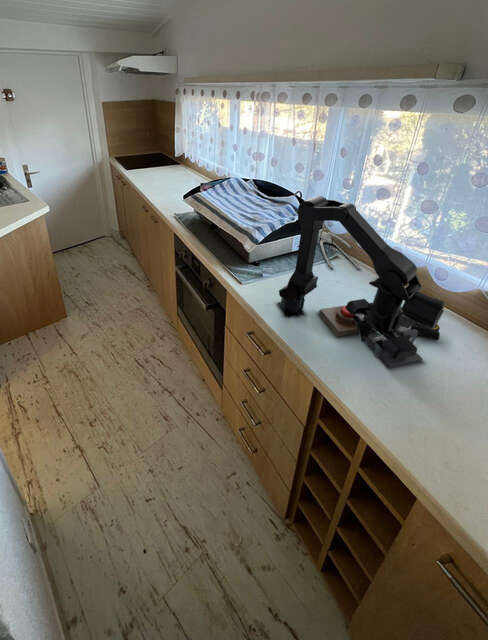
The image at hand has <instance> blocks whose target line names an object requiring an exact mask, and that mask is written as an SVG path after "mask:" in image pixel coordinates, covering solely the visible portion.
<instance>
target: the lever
mask: <svg viewBox="0 0 488 640" xmlns="http://www.w3.org/2000/svg"><path fill="white" fill-rule="evenodd" d="M408 330H410V328H406V327H400V328H399V329H397V330H394V331H392V332H393V333H395V334H398V335H400V333H401V331H408ZM362 338H363V339H364V340H365V343H366V342H367V343H368V344H369V345H368V344H367V343H366V344H367V345H368V346H369V347H370V349H371V350H372V351H373V352H374V351H375V341H379V340H383V338H384V336H383V335H379V336H377V337H374V339H373V338H371V337H370V336H368V335H367V334H364V335H363V336H362Z"/></svg>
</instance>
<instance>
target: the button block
mask: <svg viewBox="0 0 488 640" xmlns="http://www.w3.org/2000/svg"><path fill="white" fill-rule="evenodd" d="M343 306H344V305H339V306H332V307H325V308H320V309H319V314H318V315H319V316H320V317H321V318H322V320H323V322H325V324H326V325H327V326H328V328H330V330H331V331H332V332H333V333H334V335H335V336H336V337H345V336H350V335H356V334H359V332H358V329H357V326H356V324H355V321H354V319H353V317H352V318H350V317H346V316H344V315H343V314H342V313H341V311H342V308H343ZM345 306H347V304H345ZM355 315H356V314H354V316H355ZM370 332H374V329H373V328H371V330H370Z"/></svg>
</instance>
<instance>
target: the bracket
mask: <svg viewBox="0 0 488 640" xmlns="http://www.w3.org/2000/svg"><path fill="white" fill-rule="evenodd" d="M391 331H394V329H391ZM399 336H405V337H406V338H407V339H408V340H409V341H410V342H411V343H412V344H414V343H415V341H416V338H417V337H418V331H417V330H416V329H414V330H408V331H401V333H400V335H399ZM374 338H375V337H374ZM374 338H373V337H372V339H374ZM365 343H366V344H367V345H368V346H369V344H368V343H367V342H366V341H365ZM378 358H380V359H381V361H382V362H383V363H384V364H385V365H386V366H387V367H388V368H394V367H395V368H396V367H400V366H406V365H411V364H417V363H421V362H422V361H423V357H422V356H420V355H419V353H417V352H416V354H415V356H411V357H406V358H401V359H394V358H392V357H391V356H390V355H389V354H388V353H387V352H385V353H383V354H382V355H381V356H379V357H378Z"/></svg>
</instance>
